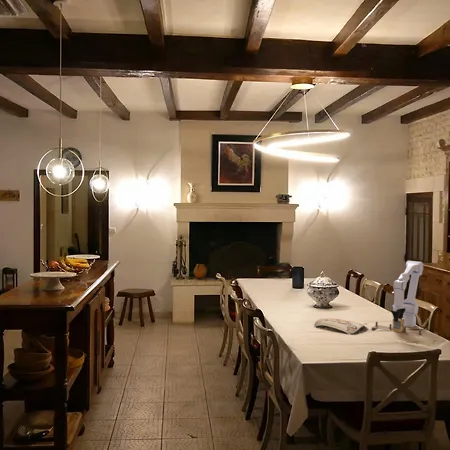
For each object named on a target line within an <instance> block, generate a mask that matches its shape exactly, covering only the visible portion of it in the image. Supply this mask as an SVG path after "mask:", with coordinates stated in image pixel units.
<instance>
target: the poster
mask: <svg viewBox="0 0 450 450" xmlns="http://www.w3.org/2000/svg"><path fill="white" fill-rule="evenodd" d="M366 325H368V323H366V322H365V323H359V322H354V321H350V320H346V319H341V318H340V319H339V318H332V317H331V318H329V317H325V318H319V319H317V320H316V321H315V322H314V324H313V327H314V326H315V328H316V327H318V326H325V327H330V328H334V329H337V330H339V331H343V332H345V333H346V334H347V335H349V336H350V335H353V334H355V333H357V332H358V331H359V330H360V329H361V328H362V327H364V326H366Z"/></svg>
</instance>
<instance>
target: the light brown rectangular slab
mask: <svg viewBox="0 0 450 450" xmlns="http://www.w3.org/2000/svg"><path fill="white" fill-rule="evenodd" d="M391 327H392V330H395V331H401V332H402V331H404V327H405V326H404V319H403V318H402V319H398V322H394V318H392V326H391Z"/></svg>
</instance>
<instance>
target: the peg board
mask: <svg viewBox="0 0 450 450" xmlns="http://www.w3.org/2000/svg"><path fill="white" fill-rule="evenodd" d="M378 323H379V322H378V321H375V325H374V326H372V327H371V331H376V330H384V331H386V332H387V331H388V332H394V333H399V334H405V335H409V336H414V337H421V336H423V335H424V334H425V333H424V332H422V329H421V328H419V329H418V331H413V330H409V329H407V326H404V331H402V332H401V331H395V330H392V326H393V323H389V326H387V325H381V324H378Z"/></svg>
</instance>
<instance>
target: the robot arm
mask: <svg viewBox="0 0 450 450" xmlns="http://www.w3.org/2000/svg"><path fill="white" fill-rule="evenodd" d="M423 271H424V263H423V262H422V261H414V260H407V261H406V262H405V270H404V272H402V273H400V275H399V277H398V278H397V279H396V280H394V281H393V285H392V287H393V293H394V297H393V299H394V300H393V304H391V307H392V309H391V310H390V312H391V315H392V319H394V322H398V319H404V327H406V328H407V327H410V328H413V327H415V326H416V325H417V324H416V323H417V316H416V315H417V314H418V312H419V303H418V302H417V301H416V296H417V291H418V290H417V289H418V283H419V278H420V276H422V274H423ZM410 275H411V276H410ZM408 281H409V285H408V286H409V287H408V292H407V295H406V297H407V298H406V299H405V290H406V289H407V283H408Z"/></svg>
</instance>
